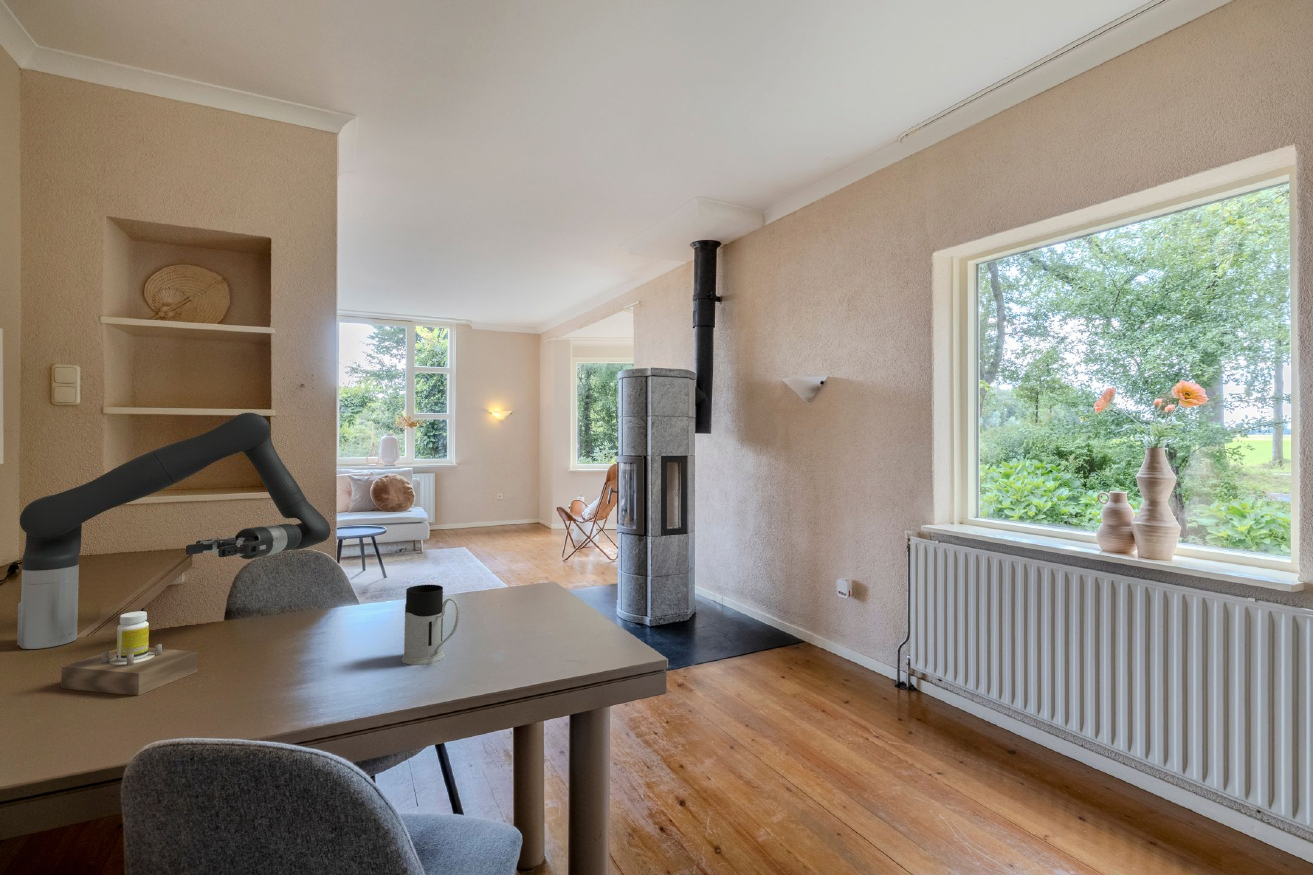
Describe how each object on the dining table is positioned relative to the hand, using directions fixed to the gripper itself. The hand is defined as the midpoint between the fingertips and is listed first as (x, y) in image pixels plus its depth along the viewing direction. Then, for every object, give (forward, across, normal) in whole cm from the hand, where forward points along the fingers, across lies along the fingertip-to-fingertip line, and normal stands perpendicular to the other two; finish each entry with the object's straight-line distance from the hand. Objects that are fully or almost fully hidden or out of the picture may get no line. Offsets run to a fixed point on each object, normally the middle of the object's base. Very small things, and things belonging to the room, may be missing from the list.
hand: (203, 551), depth 138 cm
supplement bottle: (+18, +3, +18) cm, 25 cm away
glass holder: (-5, +54, +21) cm, 58 cm away
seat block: (+18, +3, +22) cm, 28 cm away
